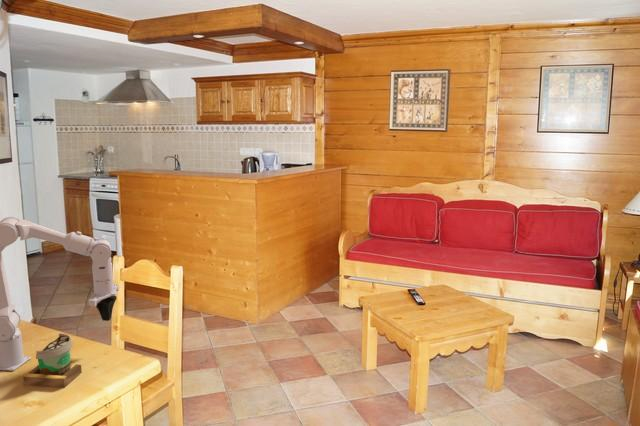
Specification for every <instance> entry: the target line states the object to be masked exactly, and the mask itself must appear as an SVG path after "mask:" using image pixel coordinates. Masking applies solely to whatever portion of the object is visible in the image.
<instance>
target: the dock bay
mask: <svg viewBox="0 0 640 426" xmlns="http://www.w3.org/2000/svg"><path fill="white" fill-rule="evenodd" d="M82 373H83V370H82V364H75V365H73V366H72V367H70V370H69V371H68V372H66V373H65V374H64V375H63V376H58V375H44V374H40V369H39V364H38V365H37V366H35V367H34V368H33V369H31V370H29V371H28V372H27V373H24V374H23V375H22V378H23V385H25V386H34V387H35V386H36V387H49V388H53V387H54V388H63V389H64V388H66V387H67V386H69V384H71V382H73V381H74V380H75V379H76V378H77V377H78V376H80V374H82Z"/></svg>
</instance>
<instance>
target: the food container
mask: <svg viewBox="0 0 640 426" xmlns="http://www.w3.org/2000/svg"><path fill="white" fill-rule="evenodd" d="M73 346H74V345H73V341H72V339H71V338H70V335H68V334H65V333H58V337H57V338H56V339H55V340H54V341H52V342H50V343H48V344H47V345H46V346H45V347H44V348H43V349H42V350H37V351H36V353H35V360H37V363H38V365H39V369H40V374H44V375H58V376H63V375H64V374H65V373H66V372H68V371H69V370H70V369H71V349H72V348H73Z"/></svg>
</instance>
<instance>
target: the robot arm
mask: <svg viewBox="0 0 640 426" xmlns="http://www.w3.org/2000/svg"><path fill="white" fill-rule="evenodd" d="M18 238H19V239H20V241H24V240H25V241H26V240H28V239H31V238H35V239H39V240H43V241H46V242H47V241H48V242H51V243H55V244H58V245H59V244H60V245H61V246H63V248H64V250H65V251H69V252H71V253H75V254H77V255H78V254H79V255H82V256H85V257H90V259H92V265H91V269H92V271H91V272H92V280H93V281H92V282H93V292H94V293H93V294H92V296H91V297H90V299H88V307H94V308H95V307H96V309H97V310H98V312H99V314H100V317H101V320H102V321H110V320H112V315H113V309H114V305H115V303H116V301H117V295H118V292H119V291H120V285H119V284H114V273H113V272H114V271H113V270H114V269H113V263H112V257H111V256H112V245H111V243H110V242H109V241H108V240H106V239H104V238H98V237H95V236H94V237H90V236H87V235H84V234H82V232H81V231H76V232H75V231H71V232H69V233H64V232H60V231H58V230H56V229H54V228H53V229H52V228H49V227H46V226H43V225H40V224H38V223H36V222H32V221H30V220H28V219H23V218H20V219H19V218H17V217H14V216H8V217H5V218H2V219H1V220H0V371H9V372H10V371H11V372H13V371H16V370H17V369H18V368H19V367H21V366H22V365H24V364H25V363H27V362H28V361H30V360H31V359H32V356H27V355H25V354H24V348H23V347H24V346H23V339H22V331H21V330H20V329H19V327H18V326H19V324H20V323H21V315H20V313H18V311H17V310H16V308H15V305H14V303H13V302H12V299H11V293H10V289H9V283H8V278H7V274H6V268H5V264H4V259H3V253H2V252H3V251H4V250H5V248H6V247H8V246H10V245H12V244H14V243H15V242H16V241H17V240H18Z"/></svg>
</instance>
